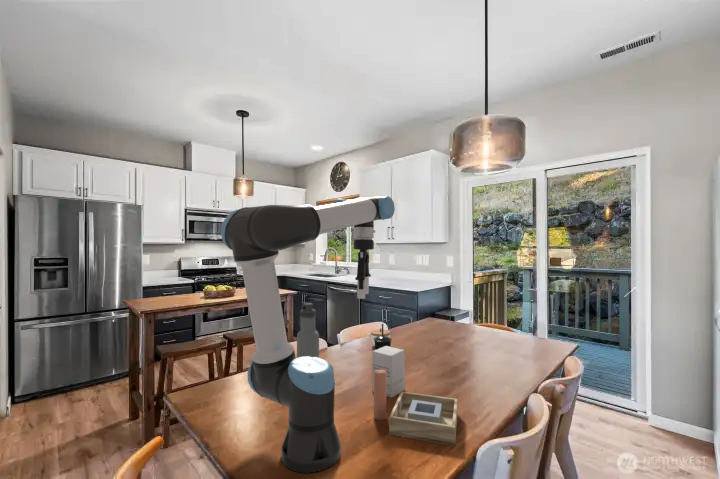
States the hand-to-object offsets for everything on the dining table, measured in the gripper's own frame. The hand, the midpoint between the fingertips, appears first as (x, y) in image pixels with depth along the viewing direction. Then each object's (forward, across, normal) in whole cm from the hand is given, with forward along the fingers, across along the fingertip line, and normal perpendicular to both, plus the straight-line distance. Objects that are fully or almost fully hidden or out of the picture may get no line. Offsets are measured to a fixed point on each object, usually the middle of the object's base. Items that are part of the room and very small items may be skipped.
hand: (363, 296), depth 128 cm
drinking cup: (+35, +21, -6) cm, 41 cm away
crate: (+35, -22, -21) cm, 46 cm away
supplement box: (+35, +1, -10) cm, 36 cm away
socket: (+35, -22, -21) cm, 46 cm away
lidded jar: (+34, +57, -3) cm, 67 cm away
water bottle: (+35, +23, +27) cm, 50 cm away
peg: (+35, -19, -8) cm, 41 cm away
